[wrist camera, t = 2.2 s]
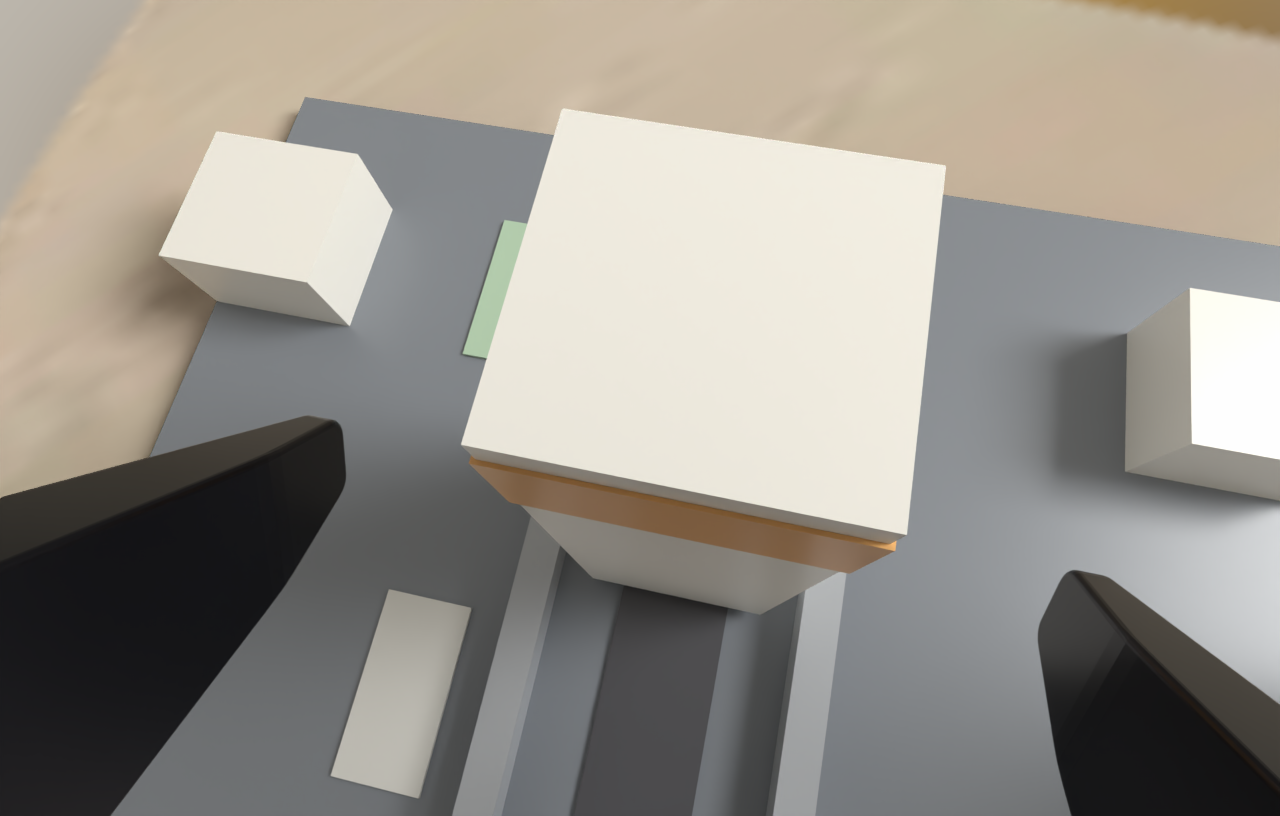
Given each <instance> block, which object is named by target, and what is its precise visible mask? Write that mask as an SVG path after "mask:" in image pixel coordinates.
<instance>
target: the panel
mask: <svg viewBox="0 0 1280 816" xmlns="http://www.w3.org/2000/svg"><path fill="white" fill-rule="evenodd" d="M553 137H554V135H549V134H543V133H536V132H530V131H523V130H516V129H510V128H503V127H497V126H490V125H484V124H477V123H471V122H464V121H458V120H451V119H445V118H438V117H432V116H425V115H419V114H412V113H406V112H399V111H392V110H386V109H379V108H373V107H366V106H360V105H353V104H347V103H340V102H334V101H327V100H321V99H314V98H308V97H305V99H304V101H303V104H302V106H301V108H300V111H299V113H298V115H297V117H296V120H295V122H294V124H293V127H292V129H291V131H290V134H289V136H288V138H287V141H286V142H280V141H274V140H267V139H261V138H255V137H249V136H243V135H236V134H230V133H224V132H218V131H217V132H216V134H215V136H214V138H213V140H212V142H211V144H210V147H209V149H208V151H207V153H206V155H205V157H204V159H203V161H202V164H201V166H200V168H199V170H198V172H197V174H196V176H195V179H194V181H193V183H192V185H191V187H190V189H189V191H188V193H187V196H186V198H185V200H184V202H183V204H182V206H181V208H180V210H179V213H178V215H177V217H176V219H175V221H174V223H173V225H172V227H171V230H170V232H169V234H168V236H167V238H166V240H165V242H164V245H163V247H162V249H161V251H160V253H159V256H160V257H161V258H162V259H164V260H165V261H166V262H168V263H169V264H170V265H171V266H173V267H174V268H175V269H176V270H178V271H179V272H180V273H182V274H183V275H184V276H185V277H187V278H188V279H189V280H190V281H192V282H193V283H194V284H196V285H197V286H198V287H199V288H201V289H202V290H203V291H204V292H206V293H207V294H208V295H210V296H211V297H212V298H213V299H215V300H216V301H217V302H216V305H215V307H214V309H213V312H212V314H211V316H210V318H209V321H208V323H207V325H206V328H205V330H204V332H203V335H202V337H201V339H200V342H199V344H198V346H197V349H196V351H195V353H194V355H193V358H192V360H191V362H190V365H189V367H188V369H187V372H186V374H185V376H184V379H183V381H182V383H181V385H180V388H179V390H178V392H177V395H176V397H175V399H174V402H173V404H172V406H171V409H170V411H169V413H168V416H167V418H166V420H165V422H164V425H163V427H162V429H161V432H160V434H159V436H158V439H157V441H156V443H155V446H154V448H153V450H152V452H151V455H150V457H152V456H156V455H160V454H163V453H167V452H171V451H175V450H178V449H182V448H186V447H189V446H193V445H197V444H200V443H204V442H208V441H212V440H215V439H219V438H223V437H226V436H230V435H234V434H238V433H241V432H245V431H249V430H252V429H256V428H260V427H264V426H267V425H271V424H275V423H278V422H282V421H286V420H290V419H293V418H297V417H301V416H305V415H313V416H318V417H323V418H328V419H332V420H336V421H337V422H338V423H339V424H340V425H341V427H342V430H343V438H344V451H345V464H346V482H345V486H344V489H343V491H342V493H341V495H340V497H339V499H338V500H337V502H336V504H335V505H334V507H333V509H332V510H331V512H330V514H329V515H328V517H327V519H326V520H325V522H324V524H323V525H322V527H321V529H320V530H319V532H318V534H317V535H316V537H315V539H314V540H313V542H312V544H311V545H310V547H309V549H308V550H307V552H306V554H305V555H304V557H303V559H302V560H301V562H300V564H299V565H298V567H297V568H296V570H295V572H294V573H293V575H292V576H291V578H290V579H289V581H288V582H287V584H286V586H285V587H284V588H283V590H282V591H281V592H280V594H279V595H278V597H277V598H276V599H275V601H274V602H273V603H272V605H271V606H270V607H269V609H268V610H267V611H266V613H265V614H264V615H263V617H262V618H261V619H260V620H259V622H258V623H257V624H256V626H255V627H254V628H253V630H252V631H251V632H250V634H249V635H248V636H247V638H246V639H245V640H244V641H243V643H242V644H241V645H240V647H239V648H238V649H237V651H236V652H235V653H234V655H233V656H232V657H231V659H230V660H229V661H228V662H227V664H226V665H225V666H224V668H223V669H222V670H221V672H220V673H219V674H218V676H217V677H216V678H215V680H214V681H213V682H212V683H211V685H210V686H209V687H208V689H207V690H206V691H205V693H204V694H203V695H202V697H201V698H200V699H199V701H198V702H197V703H196V704H195V706H194V707H193V708H192V710H191V711H190V712H189V714H188V715H187V716H186V718H185V719H184V720H183V722H182V723H181V724H180V726H179V727H178V728H177V729H176V731H175V732H174V733H173V735H172V736H171V737H170V739H169V740H168V741H167V743H166V744H165V745H164V747H163V748H162V749H161V750H160V752H159V753H158V754H157V756H156V757H155V758H154V760H153V761H152V762H151V764H150V765H149V766H148V768H147V769H146V770H145V771H144V773H143V774H142V775H141V777H140V778H139V779H138V781H137V782H136V783H135V785H134V786H133V787H132V789H131V790H130V791H129V792H128V794H127V795H126V796H125V798H124V799H123V800H122V802H121V803H120V804H119V806H118V807H117V808H116V810H115V811H114V812H113V813H112V815H111V816H1071V814H1070V810H1069V806H1068V803H1067V799H1066V796H1065V792H1064V788H1063V785H1062V781H1061V777H1060V773H1059V769H1058V765H1057V760H1056V755H1055V749H1054V744H1053V738H1052V732H1051V725H1050V719H1049V712H1048V706H1047V699H1046V693H1045V686H1044V680H1043V673H1042V667H1041V661H1040V654H1039V648H1038V628H1039V624H1040V621H1041V619H1042V617H1043V615H1044V613H1045V610H1046V608H1047V606H1048V604H1049V602H1050V600H1051V598H1052V596H1053V594H1054V592H1055V590H1056V588H1057V586H1058V584H1059V582H1060V580H1061V578H1062V577H1063V576H1064V575H1065V574H1066V573H1067V572H1069V571H1071V570H1079V571H1084V572H1089V573H1094V574H1099V575H1104V576H1107V577H1109V578H1111V579H1112V580H1114V581H1115V582H1116V583H1118V584H1119V585H1120V586H1122V587H1123V588H1124V589H1126V590H1127V591H1128V592H1130V593H1131V594H1133V595H1134V596H1135V597H1137V598H1138V599H1139V600H1141V601H1142V602H1143V603H1145V604H1146V605H1147V606H1149V607H1150V608H1151V609H1153V610H1154V611H1155V612H1157V613H1158V614H1159V615H1161V616H1162V617H1163V618H1165V619H1166V620H1167V621H1169V622H1170V623H1171V624H1173V625H1174V626H1176V627H1177V628H1178V629H1180V630H1181V631H1182V632H1184V633H1185V634H1186V635H1188V636H1189V637H1190V638H1192V639H1193V640H1194V641H1196V642H1197V643H1198V644H1200V645H1201V646H1202V647H1204V648H1205V649H1206V650H1208V651H1209V652H1210V653H1212V654H1213V655H1214V656H1216V657H1217V658H1219V659H1220V660H1221V661H1223V662H1224V663H1225V664H1227V665H1228V666H1229V667H1231V668H1232V669H1233V670H1235V671H1236V672H1237V673H1239V674H1240V675H1241V676H1243V677H1244V678H1245V679H1247V680H1248V681H1249V682H1251V683H1252V684H1253V685H1255V686H1256V687H1258V688H1259V689H1260V690H1262V691H1263V692H1264V693H1266V694H1267V695H1268V696H1270V697H1271V698H1272V699H1274V700H1275V701H1276V702H1278V703H1279V704H1280V246H1274V245H1267V244H1261V243H1254V242H1248V241H1241V240H1235V239H1228V238H1222V237H1215V236H1208V235H1202V234H1195V233H1189V232H1182V231H1176V230H1169V229H1163V228H1156V227H1150V226H1143V225H1137V224H1130V223H1124V222H1117V221H1111V220H1104V219H1098V218H1091V217H1084V216H1078V215H1071V214H1065V213H1058V212H1052V211H1045V210H1039V209H1032V208H1026V207H1019V206H1013V205H1006V204H1000V203H993V202H987V201H980V200H973V199H967V198H960V197H954V196H947V195H943V198H942V208H941V217H940V227H939V236H938V246H937V255H936V264H935V274H934V283H933V293H932V302H931V312H930V321H929V331H928V340H927V350H926V359H925V368H924V378H923V387H922V397H921V406H920V416H919V425H918V435H917V444H916V454H915V463H914V472H913V482H912V491H911V501H910V510H909V520H908V529H907V535H906V536H904V537H902V538H900V539H899V540H897V541H896V549H895V551H894V552H892V553H890V554H888V555H886V556H884V557H882V558H880V559H878V560H876V561H874V562H872V563H870V564H868V565H866V566H864V567H862V568H860V569H858V570H856V571H854V572H852V573H850V574H848V573H843V572H838V573H836V574H834V575H833V576H831V577H829V578H827V579H825V580H823V581H821V582H820V583H818V584H816V585H814V586H812V587H810V588H809V589H807V590H805V591H803V592H801V593H799V594H798V595H796V596H794V597H792V598H790V599H788V600H787V601H785V602H783V603H781V604H779V605H777V606H776V607H774V608H772V609H770V610H768V611H766V612H765V613H763V614H761V615H759V614H754V613H750V612H745V611H741V610H736V609H732V608H727V607H722V606H718V605H713V604H709V603H704V602H700V601H695V600H690V599H686V598H681V597H677V596H672V595H667V594H663V593H658V592H654V591H649V590H645V589H640V588H635V587H631V586H626V585H622V584H617V583H613V582H608V581H603V580H599V579H594V578H592V577H591V576H590V575H589V574H588V573H587V572H586V571H585V570H584V569H583V568H582V567H581V566H580V565H579V564H578V563H577V562H576V561H575V560H574V559H573V558H572V557H571V556H570V555H569V554H568V553H567V552H566V551H565V550H564V549H563V548H562V547H561V546H560V545H559V544H558V543H557V542H556V541H555V539H554V538H553V537H552V536H551V535H550V534H549V533H548V532H547V531H546V530H545V529H544V528H543V527H542V526H541V525H540V524H539V523H538V522H537V521H536V520H535V519H534V518H533V517H532V516H531V515H530V514H529V513H528V512H527V511H526V510H525V509H524V508H523V507H522V506H521V505H519V504H514V503H510V502H508V501H507V500H506V499H505V498H504V497H503V496H502V495H501V494H500V493H499V492H498V491H497V490H496V489H495V488H494V487H493V486H492V485H491V484H490V483H489V482H487V481H486V480H485V479H484V478H483V477H482V476H481V475H480V474H479V473H478V472H477V471H476V470H475V469H474V468H473V467H472V466H471V465H470V464H469V461H470V458H471V454H470V453H469V452H468V451H467V450H466V449H465V448H464V447H463V446H462V445H461V442H462V439H463V436H464V433H465V429H466V426H467V423H468V419H469V416H470V413H471V409H472V406H473V403H474V399H475V396H476V393H477V389H478V386H479V383H480V379H481V376H482V373H483V369H484V366H485V363H486V360H487V356H488V353H489V350H490V346H491V343H492V340H493V336H494V333H495V330H496V326H497V323H498V320H499V316H500V313H501V310H502V306H503V303H504V300H505V296H506V293H507V290H508V287H509V283H510V280H511V277H512V273H513V270H514V267H515V263H516V260H517V257H518V253H519V250H520V247H521V243H522V240H523V237H524V233H525V230H526V227H527V224H528V220H529V217H530V214H531V210H532V207H533V204H534V200H535V197H536V194H537V190H538V187H539V184H540V180H541V177H542V174H543V170H544V167H545V164H546V160H547V157H548V154H549V151H550V147H551V144H552V141H553Z"/></svg>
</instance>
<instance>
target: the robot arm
mask: <svg viewBox="0 0 1280 816" xmlns="http://www.w3.org/2000/svg"><path fill="white" fill-rule="evenodd" d="M345 482H346V464H345V451H344V438H343V430H342V427H341V425H340V424H339V423H338V422H337V421H336V420H332V419H328V418H323V417H318V416H313V415H305V416H301V417H297V418H293V419H290V420H286V421H282V422H278V423H275V424H271V425H267V426H264V427H260V428H256V429H252V430H249V431H245V432H241V433H238V434H234V435H230V436H226V437H223V438H219V439H215V440H212V441H208V442H204V443H200V444H197V445H193V446H189V447H186V448H182V449H178V450H175V451H171V452H167V453H163V454H160V455H156V456H152V457H149V458H145V459H141V460H137V461H134V462H130V463H126V464H123V465H119V466H115V467H111V468H108V469H104V470H100V471H97V472H93V473H89V474H85V475H82V476H78V477H74V478H71V479H67V480H63V481H59V482H56V483H52V484H48V485H45V486H41V487H37V488H34V489H30V490H26V491H22V492H19V493H15V494H11V495H8V496H4V497H2V498H0V816H111V815H112V813H113V812H114V811H115V810H116V808H117V807H118V806H119V804H120V803H121V802H122V800H123V799H124V798H125V796H126V795H127V794H128V792H129V791H130V790H131V789H132V787H133V786H134V785H135V783H136V782H137V781H138V779H139V778H140V777H141V775H142V774H143V773H144V771H145V770H146V769H147V768H148V766H149V765H150V764H151V762H152V761H153V760H154V758H155V757H156V756H157V754H158V753H159V752H160V750H161V749H162V748H163V747H164V745H165V744H166V743H167V741H168V740H169V739H170V737H171V736H172V735H173V733H174V732H175V731H176V729H177V728H178V727H179V726H180V724H181V723H182V722H183V720H184V719H185V718H186V716H187V715H188V714H189V712H190V711H191V710H192V708H193V707H194V706H195V704H196V703H197V702H198V701H199V699H200V698H201V697H202V695H203V694H204V693H205V691H206V690H207V689H208V687H209V686H210V685H211V683H212V682H213V681H214V680H215V678H216V677H217V676H218V674H219V673H220V672H221V670H222V669H223V668H224V666H225V665H226V664H227V662H228V661H229V660H230V659H231V657H232V656H233V655H234V653H235V652H236V651H237V649H238V648H239V647H240V645H241V644H242V643H243V641H244V640H245V639H246V638H247V636H248V635H249V634H250V632H251V631H252V630H253V628H254V627H255V626H256V624H257V623H258V622H259V620H260V619H261V618H262V617H263V615H264V614H265V613H266V611H267V610H268V609H269V607H270V606H271V605H272V603H273V602H274V601H275V599H276V598H277V597H278V595H279V594H280V592H281V591H282V590H283V588H284V587H285V586H286V584H287V582H288V581H289V579H290V578H291V576H292V575H293V573H294V572H295V570H296V568H297V567H298V565H299V564H300V562H301V560H302V559H303V557H304V555H305V554H306V552H307V550H308V549H309V547H310V545H311V544H312V542H313V540H314V539H315V537H316V535H317V534H318V532H319V530H320V529H321V527H322V525H323V524H324V522H325V520H326V519H327V517H328V515H329V514H330V512H331V510H332V509H333V507H334V505H335V504H336V502H337V500H338V499H339V497H340V495H341V493H342V491H343V489H344V486H345ZM1038 648H1039V654H1040V661H1041V667H1042V673H1043V680H1044V686H1045V693H1046V699H1047V706H1048V712H1049V719H1050V725H1051V732H1052V738H1053V744H1054V749H1055V755H1056V760H1057V765H1058V769H1059V773H1060V777H1061V781H1062V785H1063V788H1064V792H1065V796H1066V799H1067V803H1068V806H1069V810H1070V814H1071V816H1280V704H1279V703H1278V702H1276V701H1275V700H1274V699H1272V698H1271V697H1270V696H1268V695H1267V694H1266V693H1264V692H1263V691H1262V690H1260V689H1259V688H1258V687H1256V686H1255V685H1253V684H1252V683H1251V682H1249V681H1248V680H1247V679H1245V678H1244V677H1243V676H1241V675H1240V674H1239V673H1237V672H1236V671H1235V670H1233V669H1232V668H1231V667H1229V666H1228V665H1227V664H1225V663H1224V662H1223V661H1221V660H1220V659H1219V658H1217V657H1216V656H1214V655H1213V654H1212V653H1210V652H1209V651H1208V650H1206V649H1205V648H1204V647H1202V646H1201V645H1200V644H1198V643H1197V642H1196V641H1194V640H1193V639H1192V638H1190V637H1189V636H1188V635H1186V634H1185V633H1184V632H1182V631H1181V630H1180V629H1178V628H1177V627H1176V626H1174V625H1173V624H1171V623H1170V622H1169V621H1167V620H1166V619H1165V618H1163V617H1162V616H1161V615H1159V614H1158V613H1157V612H1155V611H1154V610H1153V609H1151V608H1150V607H1149V606H1147V605H1146V604H1145V603H1143V602H1142V601H1141V600H1139V599H1138V598H1137V597H1135V596H1134V595H1133V594H1131V593H1130V592H1128V591H1127V590H1126V589H1124V588H1123V587H1122V586H1120V585H1119V584H1118V583H1116V582H1115V581H1114V580H1112V579H1111V578H1109V577H1107V576H1104V575H1099V574H1094V573H1089V572H1084V571H1079V570H1071V571H1069V572H1067V573H1066V574H1065V575H1064V576H1063V577H1062V578H1061V580H1060V582H1059V584H1058V586H1057V588H1056V590H1055V592H1054V594H1053V596H1052V598H1051V600H1050V602H1049V604H1048V606H1047V608H1046V610H1045V613H1044V615H1043V617H1042V619H1041V621H1040V624H1039V628H1038Z"/></svg>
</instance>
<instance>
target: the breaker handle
mask: <svg viewBox="0 0 1280 816" xmlns="http://www.w3.org/2000/svg"><path fill="white" fill-rule="evenodd" d="M945 170H946V166H945V165H938V164H931V163H925V162H918V161H911V160H904V159H898V158H891V157H884V156H878V155H871V154H864V153H857V152H851V151H844V150H837V149H831V148H824V147H817V146H810V145H804V144H797V143H790V142H784V141H777V140H770V139H763V138H757V137H750V136H743V135H737V134H730V133H723V132H717V131H710V130H703V129H696V128H690V127H683V126H676V125H670V124H663V123H656V122H649V121H643V120H636V119H629V118H623V117H616V116H609V115H602V114H596V113H589V112H582V111H576V110H569V109H562V111H561V114H560V117H559V121H558V124H557V127H556V131H555V134H554V137H553V141H552V144H551V147H550V151H549V154H548V157H547V160H546V164H545V167H544V170H543V174H542V177H541V180H540V184H539V187H538V190H537V194H536V197H535V200H534V204H533V207H532V210H531V214H530V217H529V220H528V224H527V227H526V230H525V233H524V237H523V240H522V243H521V247H520V250H519V253H518V257H517V260H516V263H515V267H514V270H513V273H512V277H511V280H510V283H509V287H508V290H507V293H506V296H505V300H504V303H503V306H502V310H501V313H500V316H499V320H498V323H497V326H496V330H495V333H494V336H493V340H492V343H491V346H490V350H489V353H488V356H487V360H486V363H485V366H484V369H483V373H482V376H481V379H480V383H479V386H478V389H477V393H476V396H475V399H474V403H473V406H472V409H471V413H470V416H469V419H468V423H467V426H466V429H465V433H464V436H463V439H462V442H461V445H462V446H463V447H464V448H465V449H466V450H467V451H468V452H469V453H470V454H471V458H470V461H469V464H470V465H471V466H472V467H473V468H474V469H475V470H476V471H477V472H478V473H479V474H480V475H481V476H482V477H483V478H484V479H485V480H486V481H487V482H489V483H490V484H491V485H492V486H493V487H494V488H495V489H496V490H497V491H498V492H499V493H500V494H501V495H502V496H503V497H504V498H505V499H506V500H507V501H508V502H510V503H514V504H519V505H521V506H522V507H523V508H524V509H525V510H526V511H527V512H528V513H529V514H530V515H531V516H532V517H533V518H534V519H535V520H536V521H537V522H538V523H539V524H540V525H541V526H542V527H543V528H544V529H545V530H546V531H547V532H548V533H549V534H550V535H551V536H552V537H553V538H554V539H555V541H556V542H557V543H558V544H559V545H560V546H561V547H562V548H563V549H564V550H565V551H566V552H567V553H568V554H569V555H570V556H571V557H572V558H573V559H574V560H575V561H576V562H577V563H578V564H579V565H580V566H581V567H582V568H583V569H584V570H585V571H586V572H587V573H588V574H589V575H590V576H591V577H592V578H594V579H599V580H603V581H608V582H613V583H617V584H622V585H626V586H631V587H635V588H640V589H645V590H649V591H654V592H658V593H663V594H667V595H672V596H677V597H681V598H686V599H690V600H695V601H700V602H704V603H709V604H713V605H718V606H722V607H727V608H732V609H736V610H741V611H745V612H750V613H754V614H759V615H761V614H763V613H765V612H766V611H768V610H770V609H772V608H774V607H776V606H777V605H779V604H781V603H783V602H785V601H787V600H788V599H790V598H792V597H794V596H796V595H798V594H799V593H801V592H803V591H805V590H807V589H809V588H810V587H812V586H814V585H816V584H818V583H820V582H821V581H823V580H825V579H827V578H829V577H831V576H833V575H834V574H836V573H838V572H843V573H848V574H850V573H852V572H854V571H856V570H858V569H860V568H862V567H864V566H866V565H868V564H870V563H872V562H874V561H876V560H878V559H880V558H882V557H884V556H886V555H888V554H890V553H892V552H894V551H895V549H896V541H897V540H899V539H900V538H902V537H904V536H906V535H907V529H908V520H909V510H910V501H911V491H912V482H913V472H914V463H915V454H916V444H917V435H918V425H919V416H920V406H921V397H922V387H923V378H924V368H925V359H926V350H927V340H928V331H929V321H930V312H931V302H932V293H933V283H934V274H935V264H936V255H937V246H938V236H939V227H940V217H941V208H942V198H943V189H944V179H945Z"/></svg>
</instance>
